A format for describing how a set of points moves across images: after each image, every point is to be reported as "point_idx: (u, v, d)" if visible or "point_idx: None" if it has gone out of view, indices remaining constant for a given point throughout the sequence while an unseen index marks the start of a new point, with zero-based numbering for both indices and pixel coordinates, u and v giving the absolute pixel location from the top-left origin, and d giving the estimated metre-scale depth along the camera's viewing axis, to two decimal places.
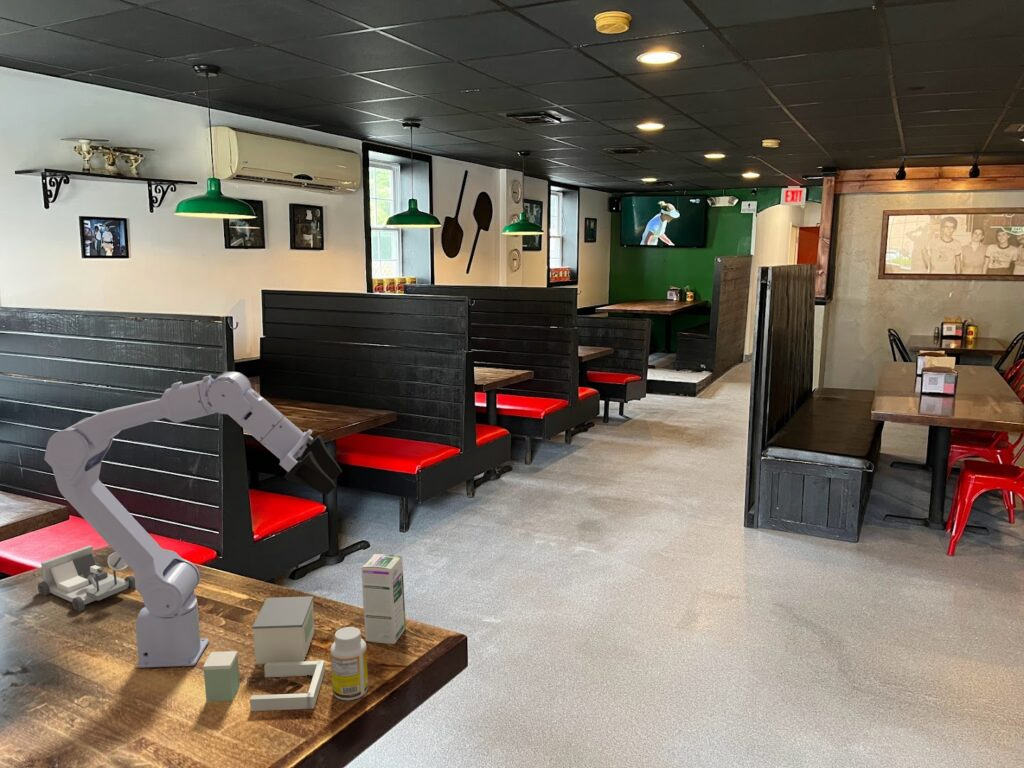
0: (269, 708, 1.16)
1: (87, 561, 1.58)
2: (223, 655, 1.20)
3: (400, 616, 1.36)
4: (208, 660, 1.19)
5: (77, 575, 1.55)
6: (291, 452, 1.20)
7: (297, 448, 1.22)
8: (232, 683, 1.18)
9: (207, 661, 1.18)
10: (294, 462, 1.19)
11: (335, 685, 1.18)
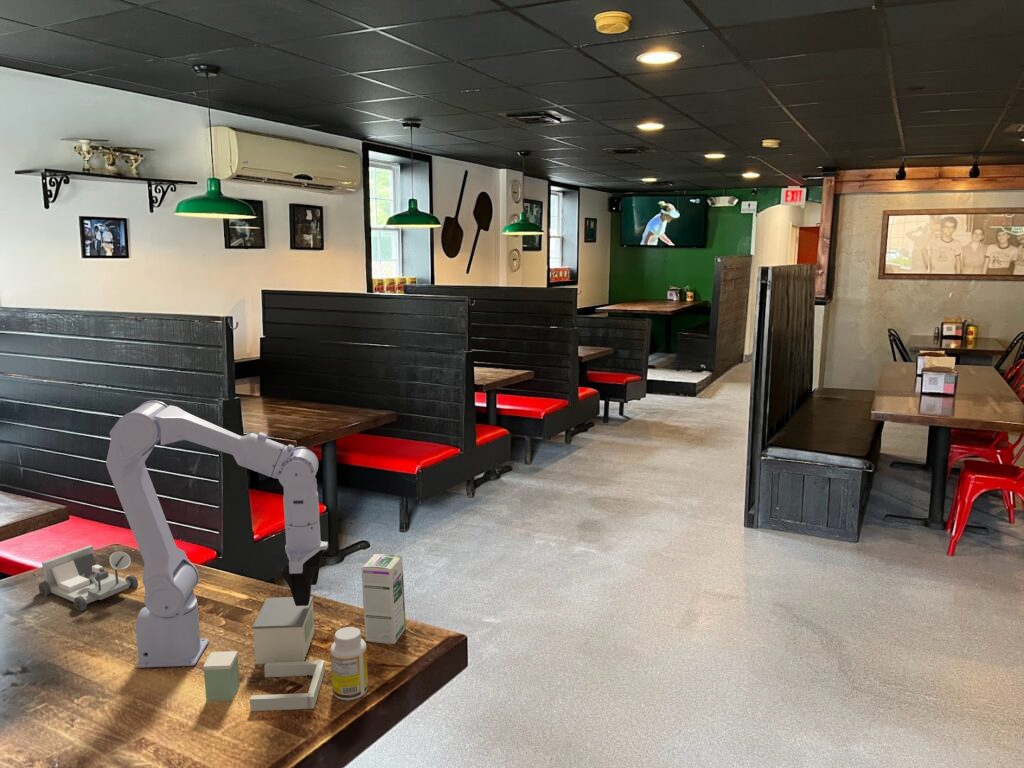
0: (269, 708, 1.16)
1: (88, 561, 1.58)
2: (223, 655, 1.20)
3: (400, 616, 1.36)
4: (208, 660, 1.19)
5: (78, 575, 1.56)
6: (304, 559, 1.25)
7: (309, 557, 1.26)
8: (232, 683, 1.18)
9: (207, 661, 1.18)
10: (300, 571, 1.23)
11: (335, 685, 1.18)
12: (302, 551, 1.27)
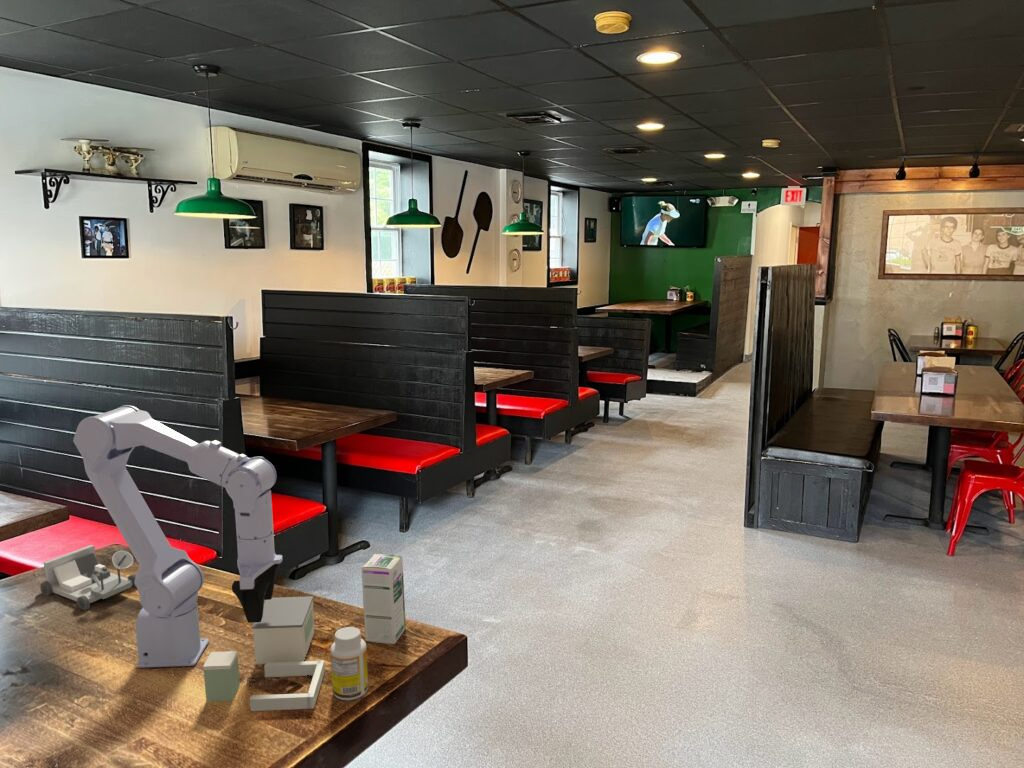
0: (269, 708, 1.16)
1: (89, 560, 1.58)
2: (223, 655, 1.20)
3: (400, 616, 1.36)
4: (208, 660, 1.19)
5: (80, 574, 1.56)
6: (256, 574, 1.19)
7: (262, 571, 1.21)
8: (232, 683, 1.18)
9: (207, 661, 1.18)
10: (252, 586, 1.18)
11: (335, 685, 1.18)
12: (254, 565, 1.22)
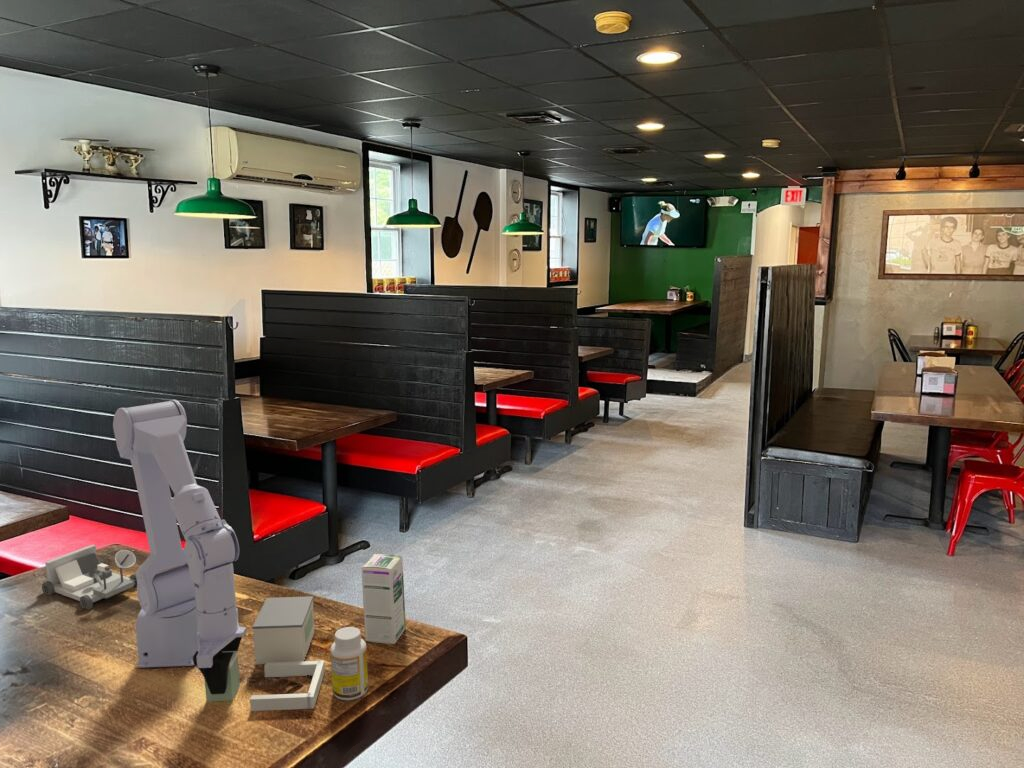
0: (269, 708, 1.16)
1: (91, 560, 1.58)
2: None
3: (400, 616, 1.36)
4: None
5: (81, 574, 1.56)
6: (215, 651, 1.13)
7: (222, 647, 1.14)
8: (232, 683, 1.18)
9: None
10: (210, 665, 1.11)
11: (335, 685, 1.18)
12: (214, 640, 1.15)
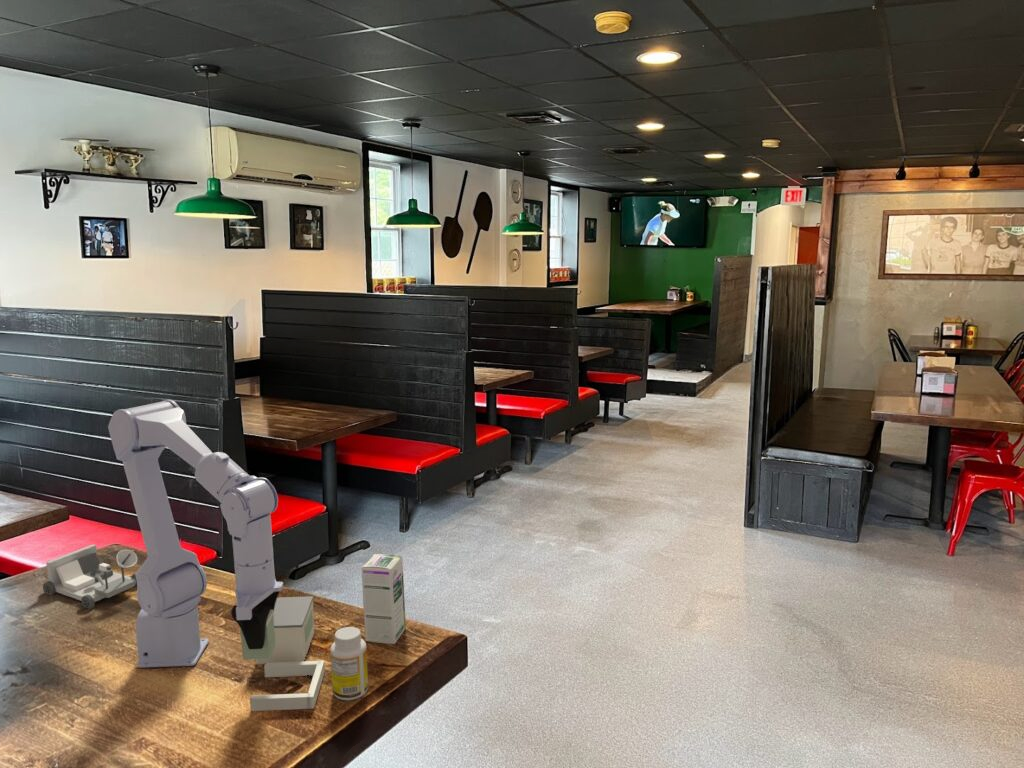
0: (269, 708, 1.16)
1: (91, 560, 1.58)
2: None
3: (400, 616, 1.36)
4: None
5: (82, 574, 1.56)
6: (254, 603, 1.12)
7: (260, 600, 1.13)
8: (268, 641, 1.17)
9: None
10: (249, 617, 1.10)
11: (335, 685, 1.18)
12: (253, 594, 1.14)
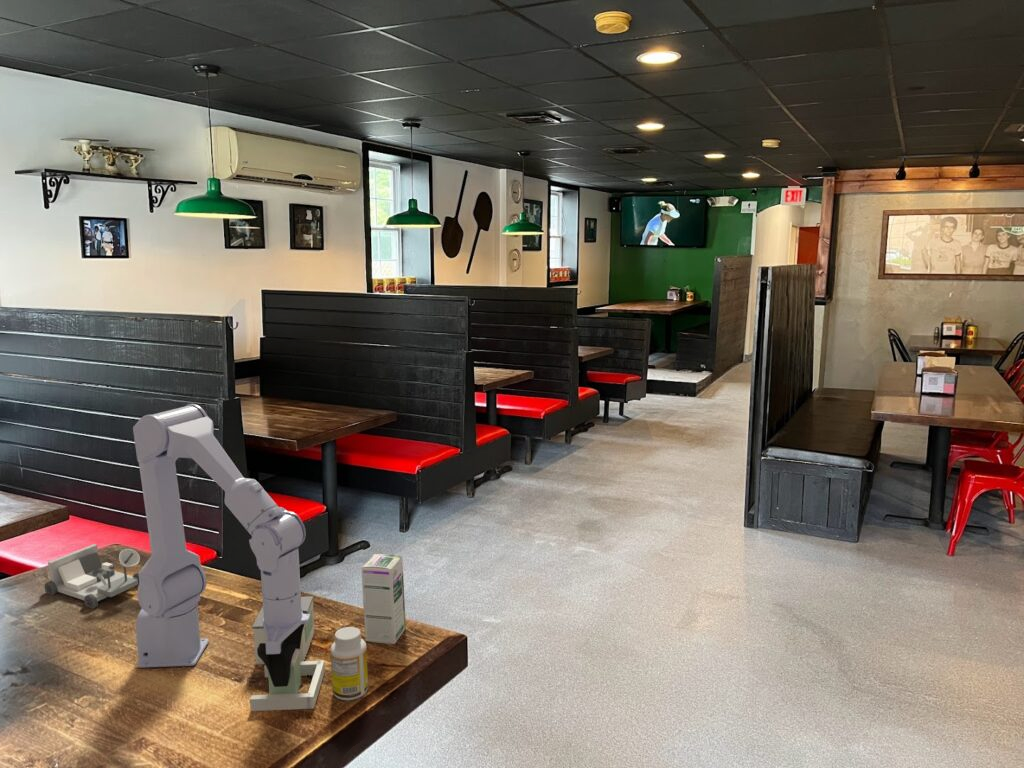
0: (269, 708, 1.16)
1: (93, 559, 1.59)
2: None
3: (400, 616, 1.36)
4: None
5: (84, 573, 1.56)
6: (283, 637, 1.13)
7: (289, 634, 1.15)
8: (295, 680, 1.19)
9: None
10: (278, 651, 1.12)
11: (335, 685, 1.18)
12: (281, 627, 1.16)
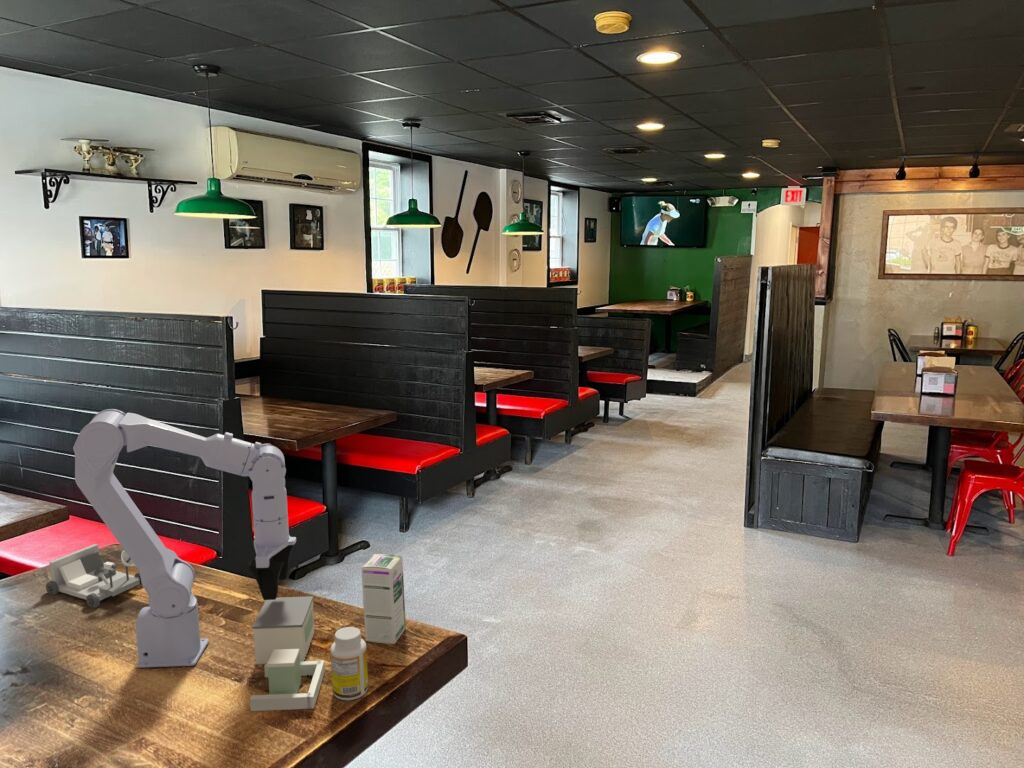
0: (269, 708, 1.16)
1: (94, 559, 1.59)
2: (285, 653, 1.21)
3: (400, 616, 1.36)
4: (271, 657, 1.19)
5: (85, 573, 1.56)
6: (271, 554, 1.27)
7: (277, 551, 1.28)
8: (295, 680, 1.19)
9: (270, 658, 1.19)
10: (267, 565, 1.26)
11: (335, 685, 1.18)
12: (270, 546, 1.29)
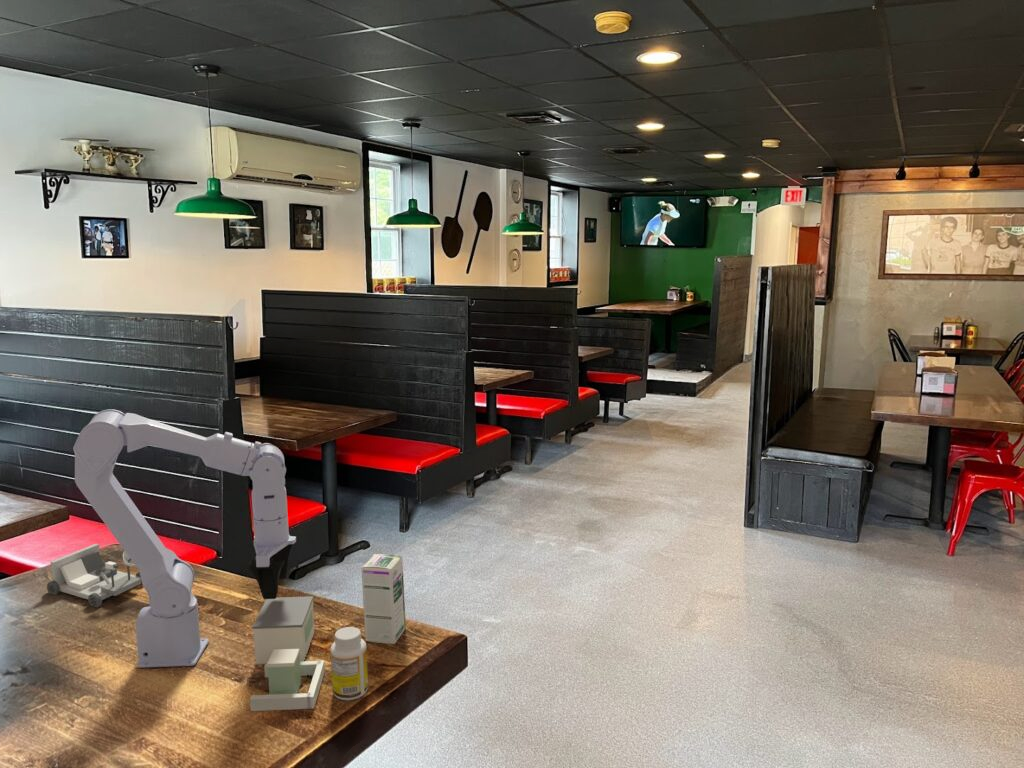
0: (269, 708, 1.16)
1: (95, 559, 1.59)
2: (286, 653, 1.21)
3: (400, 616, 1.36)
4: (271, 657, 1.19)
5: (86, 573, 1.56)
6: (271, 553, 1.27)
7: (277, 551, 1.29)
8: (295, 680, 1.19)
9: (270, 658, 1.19)
10: (267, 564, 1.26)
11: (335, 685, 1.18)
12: (270, 545, 1.30)
